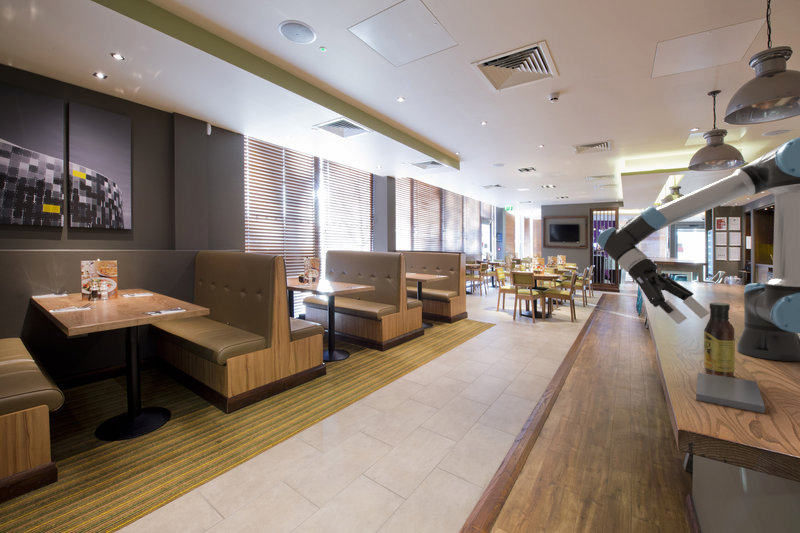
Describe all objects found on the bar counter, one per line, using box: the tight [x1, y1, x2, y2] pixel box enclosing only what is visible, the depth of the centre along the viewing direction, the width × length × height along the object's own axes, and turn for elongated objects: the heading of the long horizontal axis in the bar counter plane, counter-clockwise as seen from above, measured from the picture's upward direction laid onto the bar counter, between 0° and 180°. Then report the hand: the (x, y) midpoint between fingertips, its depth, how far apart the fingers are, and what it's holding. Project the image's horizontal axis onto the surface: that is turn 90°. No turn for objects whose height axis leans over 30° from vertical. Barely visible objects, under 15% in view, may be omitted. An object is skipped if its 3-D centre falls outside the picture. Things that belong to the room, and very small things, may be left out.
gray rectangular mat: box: [695, 371, 766, 414], centre depth 83 cm, size 18×11×2 cm, turn 138°
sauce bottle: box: [703, 302, 736, 378], centre depth 95 cm, size 6×6×20 cm
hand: (694, 318), depth 99 cm, fingers open, 13 cm apart
